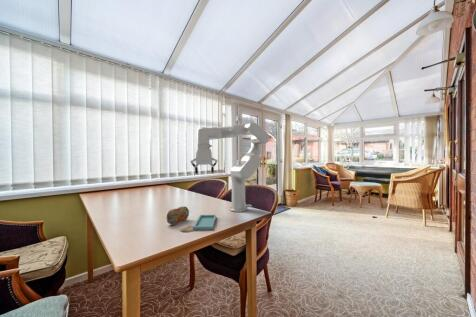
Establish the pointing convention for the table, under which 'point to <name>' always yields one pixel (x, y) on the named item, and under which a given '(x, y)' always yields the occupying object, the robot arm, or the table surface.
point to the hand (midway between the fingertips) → (204, 173)
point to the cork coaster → (186, 229)
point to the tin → (177, 215)
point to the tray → (205, 222)
